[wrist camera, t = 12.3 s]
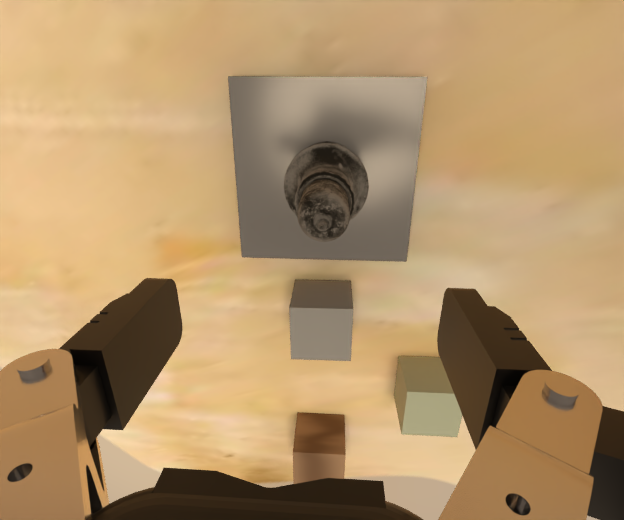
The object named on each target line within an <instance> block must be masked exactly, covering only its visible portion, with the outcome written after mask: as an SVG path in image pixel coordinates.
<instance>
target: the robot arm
mask: <svg viewBox="0 0 624 520" xmlns="http://www.w3.org/2000/svg"><path fill="white" fill-rule="evenodd" d="M181 336H182V320H181V313H180V307H179V301H178V294H177V288H176V284H175V282H174V281H173V280H172V279H156V278H146V279H144V280H143V281H142V282H141V283H140V284H139V285H138V286H137V287H136V288H135V289H133V290H132V291H131V292H130V293H129V294H126V295H124V296H122V297H120V298H118V299H116V300H114V301H112V302H110V303H109V304H108V305H107V306H106V307H105V308H104V309H103V310H102V311H100V314H97V315H96V316H95V317H94V318H93V319H92V320H90V323H87V324H86V325H85V326H84V327H83V328H82V329H80V330H79V331H78V332H77V333H76V334H75V335H74V336H73V337H72V338H70V339H69V340H68V341H67V342H66V343H65V344H64V345H63V346H61V347H60V348H59V349H47V350H41V351H37V352H33V353H30V354H28V355H25V356H22V357H20V358H18V359H16V360H15V361H13V362H11V363H10V364H8V365H7V366H5V367H4V368H3V369H2V370H1V371H0V520H423V519H421V518H420V517H418V516H417V515H415V514H413V513H412V512H410V511H408V510H406V509H404V508H402V507H400V506H398V505H395V504H393V503H390V502H387V501H385V494H384V486H383V481H371V480H355V479H338V478H324V479H319V480H313V481H308V482H303V483H297V484H292V485H286V486H281V487H276V488H266V487H262V486H259V485H256V484H253V483H251V482H248V481H245V480H242V479H239V478H236V477H233V476H230V475H227V474H224V473H221V472H218V471H208V470H192V469H176V468H164V469H163V471H162V473H161V475H160V477H159V479H158V481H157V483H156V486H155V487H154V488H148V489H145V490H142V491H138V492H135V493H133V494H130V495H128V496H125V497H123V498H120V499H118V500H116V501H114V502H112V503H111V504H109V500H108V494H107V488H106V483H105V476H104V470H103V464H102V458H101V452H100V446H99V443H98V440H97V436H98V435H99V433H100V432H101V431H102V429H113V430H123V429H124V428H125V426H126V424H127V423H128V421H129V420H130V418H131V417H132V415H133V414H134V412H135V411H136V409H137V408H138V406H139V404H140V403H141V401H142V400H143V398H144V397H145V395H146V394H147V392H148V391H149V389H150V388H151V386H152V384H153V383H154V381H155V380H156V378H157V377H158V375H159V374H160V372H161V371H162V369H163V367H164V366H165V364H166V363H167V361H168V360H169V358H170V357H171V355H172V354H173V352H174V351H175V349H176V347H177V346H178V344H179V342H180V339H181ZM437 342H438V352H439V356H440V359H441V361H442V364H443V366H444V369H445V371H446V374H447V377H448V379H449V382H450V384H451V387H452V389H453V392H454V395H455V397H456V400H457V402H458V405H459V407H460V410H461V413H462V415H463V418H464V420H465V423H466V425H467V428H468V431H469V433H470V436H471V438H472V441H473V443H474V446H475V449H476V451H475V453H474V455H473V457H472V458H471V460H470V462H469V464H468V466H467V468H466V469H465V471H464V473H463V475H462V477H461V479H460V480H459V482H458V484H457V486H456V488H455V490H454V491H453V493H452V495H451V497H450V499H449V501H448V502H447V504H446V506H445V508H444V510H443V512H442V514H441V515H440V517H439V519H438V520H586V518H587V515H588V516H591V517H594V518H597V519H600V520H624V412H623V411H619V410H615V409H611V408H608V407H604V406H602V403H601V401H600V399H599V397H598V396H597V395H596V394H595V393H594V392H593V391H592V390H591V389H590V388H589V387H587V386H586V385H585V384H583V383H581V382H580V381H578V380H576V379H574V378H572V377H570V376H567V375H565V374H562V373H559V372H555V371H552V370H551V369H550V367H549V366H548V365H547V364H546V362H545V361H544V360H543V358H542V357H541V356H540V355H539V353H538V352H537V351H536V349H535V348H534V347H533V346H532V344H531V343H530V342H529V341H527V338H526V337H525V335H524V334H523V333H522V332H521V331H519V328H518V326H517V325H516V324H515V323H514V321H513V320H512V319H511V317H510V316H508V315H507V314H505V313H504V312H502V311H501V310H499V309H498V308H496V307H494V306H487V305H486V303H485V302H484V300H483V299H482V297H481V296H480V295H479V293H478V292H477V291H476V290H475V289H461V288H447V289H446V291H445V294H444V298H443V305H442V311H441V317H440V324H439V330H438V339H437Z"/></svg>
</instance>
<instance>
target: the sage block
mask: <svg viewBox="0 0 624 520" xmlns="http://www.w3.org/2000/svg"><path fill="white" fill-rule="evenodd" d="M394 398H395V403H396V408H397V413H398V418H399V424H400V429H401V434H405V435H425V436H445V437H458V432H459V428H460V423H461V419H462V413H461V410H460V407H459V405H458V402H457V400H456V397H455V395H454V392H453V389H452V387H451V384H450V382H449V379H448V377H447V374H446V371H445V369H444V366H443V364H442V361H441V359H440V357H422V356H399V357H398V365H397V373H396V382H395V390H394Z"/></svg>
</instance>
